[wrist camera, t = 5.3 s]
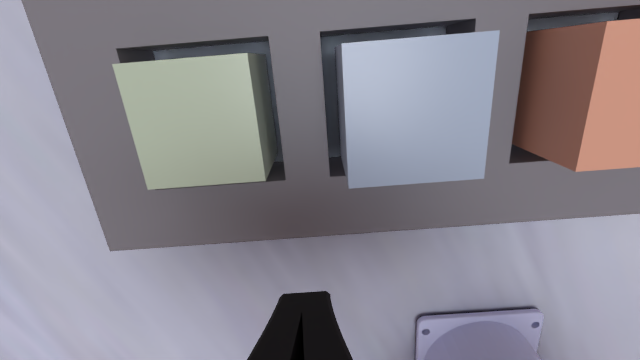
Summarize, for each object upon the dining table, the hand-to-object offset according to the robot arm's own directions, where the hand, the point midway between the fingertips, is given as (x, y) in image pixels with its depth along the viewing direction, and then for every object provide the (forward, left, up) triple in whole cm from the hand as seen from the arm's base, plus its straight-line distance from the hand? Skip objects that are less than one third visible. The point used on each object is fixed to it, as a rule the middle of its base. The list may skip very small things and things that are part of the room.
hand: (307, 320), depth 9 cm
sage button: (+5, +4, -9) cm, 11 cm away
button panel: (+5, -4, -9) cm, 11 cm away
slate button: (+5, -4, -8) cm, 10 cm away
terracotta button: (+5, -12, -8) cm, 15 cm away
